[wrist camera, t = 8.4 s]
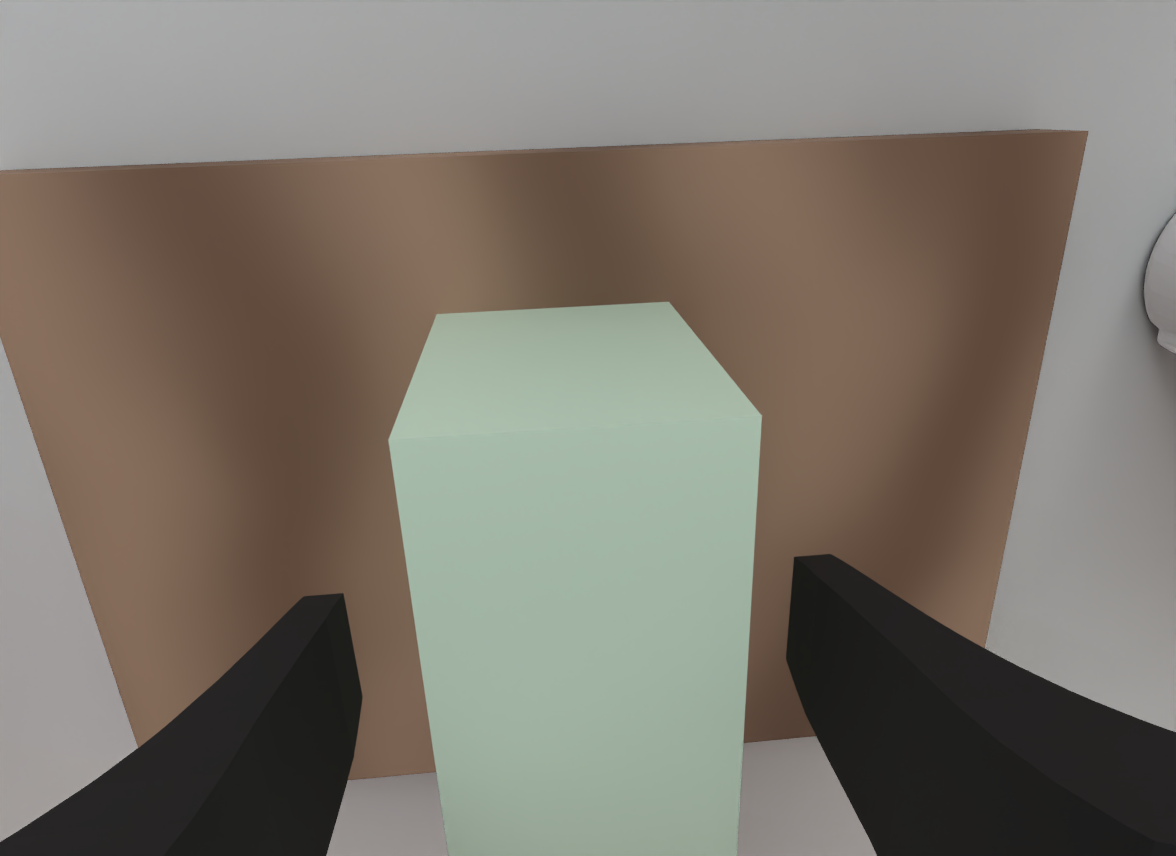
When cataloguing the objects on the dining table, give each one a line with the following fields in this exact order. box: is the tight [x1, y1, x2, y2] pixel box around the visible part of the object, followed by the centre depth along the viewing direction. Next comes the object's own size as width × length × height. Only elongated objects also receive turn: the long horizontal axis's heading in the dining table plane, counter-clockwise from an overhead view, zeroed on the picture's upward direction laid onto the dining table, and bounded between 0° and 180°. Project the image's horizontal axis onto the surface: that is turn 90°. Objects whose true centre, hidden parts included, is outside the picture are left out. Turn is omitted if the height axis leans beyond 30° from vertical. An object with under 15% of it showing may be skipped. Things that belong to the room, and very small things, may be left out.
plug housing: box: [388, 302, 762, 856], centre depth 13 cm, size 4×8×6 cm, turn 2°
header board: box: [0, 129, 1088, 780], centre depth 16 cm, size 20×14×4 cm
